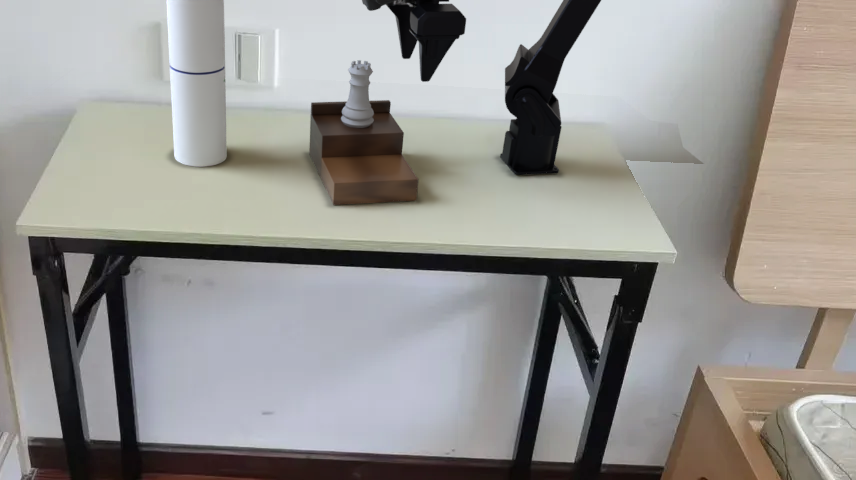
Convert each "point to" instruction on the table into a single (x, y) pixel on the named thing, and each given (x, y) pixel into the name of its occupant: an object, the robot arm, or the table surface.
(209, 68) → the cylindrical container
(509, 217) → the table surface
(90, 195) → the table surface
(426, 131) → the table surface
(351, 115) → the rook chess piece
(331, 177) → the brown wooden stepped block
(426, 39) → the robot arm
